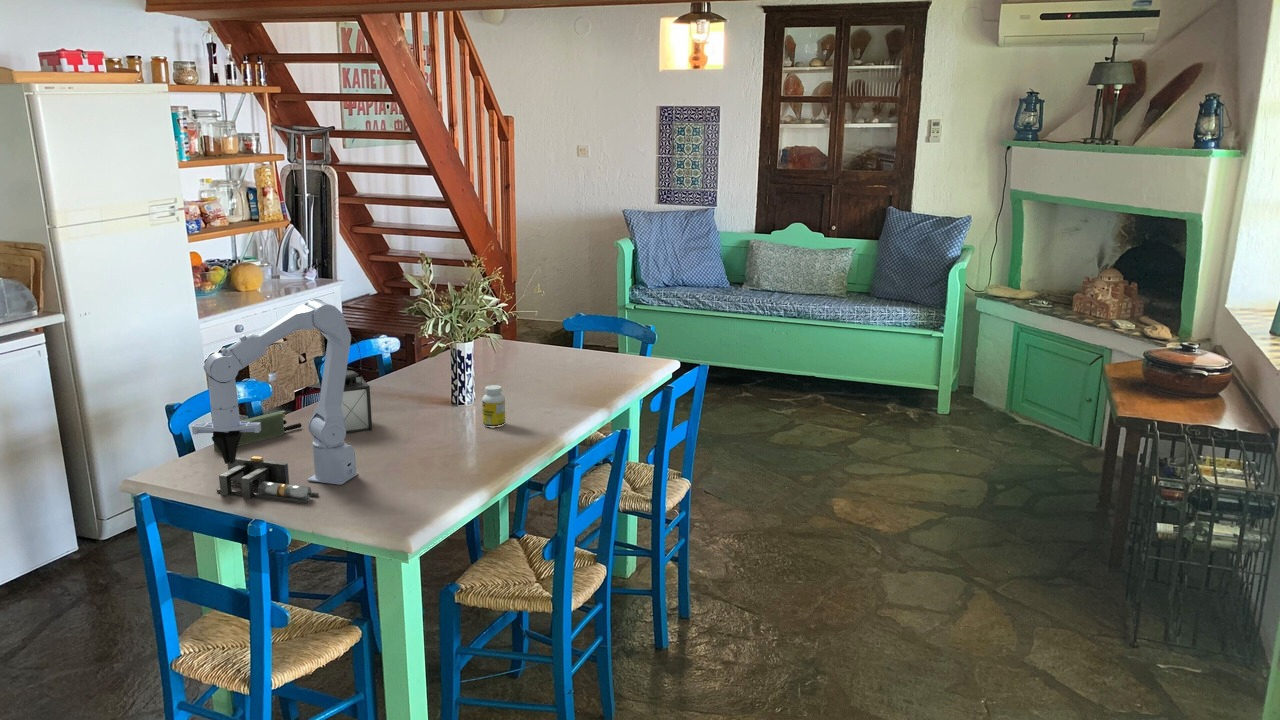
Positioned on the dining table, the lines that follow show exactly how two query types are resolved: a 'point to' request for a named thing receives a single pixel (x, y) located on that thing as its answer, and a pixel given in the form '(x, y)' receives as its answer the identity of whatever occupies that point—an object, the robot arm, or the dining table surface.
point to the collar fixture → (255, 478)
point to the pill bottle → (493, 406)
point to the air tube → (284, 490)
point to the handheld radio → (266, 428)
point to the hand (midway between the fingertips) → (230, 462)
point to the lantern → (356, 403)
